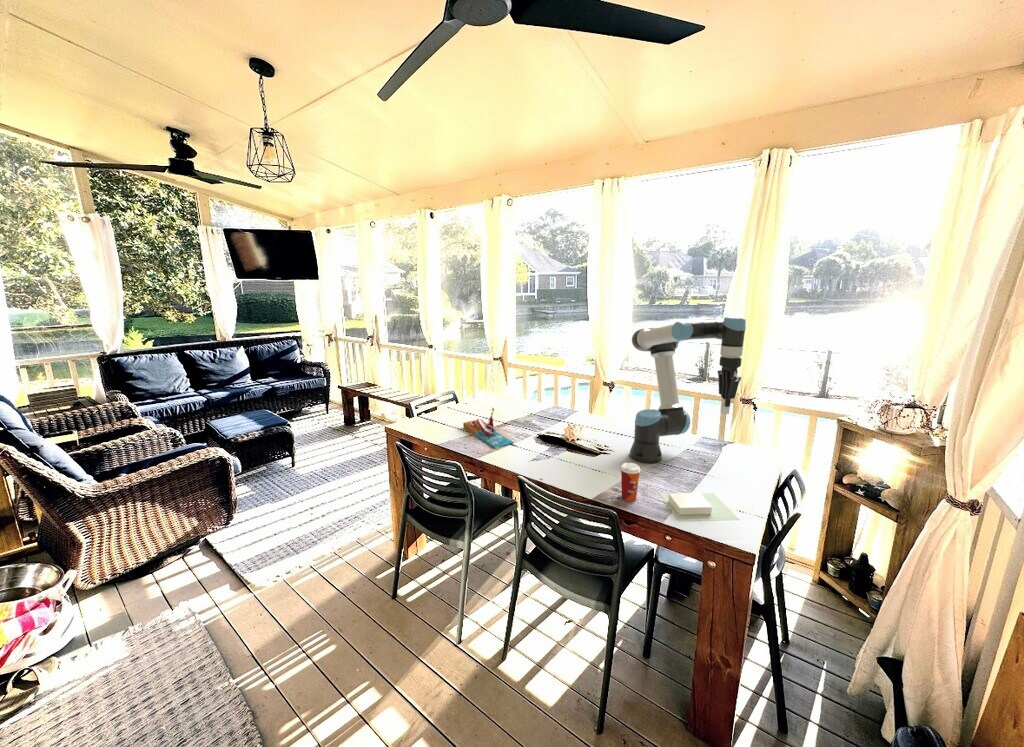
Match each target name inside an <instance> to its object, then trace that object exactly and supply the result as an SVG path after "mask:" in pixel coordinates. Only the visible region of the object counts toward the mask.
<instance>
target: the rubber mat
mask: <svg viewBox="0 0 1024 747" xmlns="http://www.w3.org/2000/svg"><path fill="white" fill-rule="evenodd" d="M699 493H700V494H701V496H702V497H703V498H704V499H705V500H706V501H707V502H708V503H709V504H710V505H711V506H712V512H711V514H700V515H679V514H678V513H677V512H676V510H675V509H674V508H673V506H672V505H671V504H670V502H669V501H668V497H669V494H670V493H659V496H660V497H661V498H662V500H664V502H665V504H666V505H667V506H668V508H669V509H670V511H671V512H672V513H673V515H674V516H675V517H676V518H677V520H678V522H707V521H711V522H712V521H740V518H739V517H738V516H737V515H736V514H735V513H734V512H733V511H732V510H730V508H729V507H728V506H727V505H726V504H725V503H724V502H723V501H722V500H721V498H719V497H718V496H717V495H716V494H715V493H714V492H699Z"/></svg>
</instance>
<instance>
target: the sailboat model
mask: <svg viewBox="0 0 1024 747" xmlns="http://www.w3.org/2000/svg"><path fill="white" fill-rule="evenodd" d="M491 410H492V412H491V413H490V417H489V419H488V421H487V422H486V421H484V420H483V419H481V418H477V419H475V420H470V421H466V422H465V421H464V422H463V423H462V424H463V425H462V426H463V430H465V431H466V430H467V431H466V432H468V433H470V434H471V433H472V434H471V435H473V436H474V437H476V438H477V437H478V439H479V440H480V439H481V440H480V441H482V442H483V441H484V443H485V444H486V443H487V445H488V446H489V445H490V446H489V447H491V448H493V449H494V450H496V449H500V448H504V447H508V446H511V444H512V445H514V441H513V440H511V439H509V438H507V437H505V435H502V434H500V433H499V432H498V431H497V430H496V429H495V428H494V421H493V420H494V419H493V415H494V412H495V408H494V407H491Z"/></svg>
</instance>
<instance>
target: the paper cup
mask: <svg viewBox="0 0 1024 747" xmlns="http://www.w3.org/2000/svg"><path fill="white" fill-rule="evenodd" d="M620 470H621V471H620V472H621V474H620V477H621V478H620V479H621V480H620V481H621V485H620V489H621V499H622V500H623V501H625V502H629V503H630V502H632V503H634V502H636V500H637V496H638V495H637V494H638V488H639V481H640V480H639V478H640V472H641V470H642V469H641V467H640V466H639V465H638V464H637V463H634V462H624V463H621V466H620Z"/></svg>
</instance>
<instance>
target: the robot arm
mask: <svg viewBox="0 0 1024 747" xmlns="http://www.w3.org/2000/svg"><path fill="white" fill-rule="evenodd" d="M746 322H747V320H746V318H745V317H744V316H732V315H731V316H725V317H724V319H723V320H719V319H715V318H711V319H710V318H709V319H707V318H706V319H704V320H679V321H677V322H675V323H673V324H668V325H665V326H664V325H663V326H660V327H652V328H651V327H649V328H648V327H647V328H646V327H645V328H640V329H638V330H636V331H635V332H634V333H633V334H632V335H631V336H632V337H631V343H632V346H633V347H634V348H635V349H636V350H637V351H641V352H650V356H651V357H652V358H653V359H654V365H655V372H656V373H655V374H656V379H657V380H656V381H657V386H658V393H659V394H658V395H659V402H660V406H659V407H658V408H657V409H652V408H651V409H650V408H649V409H648V408H647V409H642V410H639V411H638V412H637V413H636V415H635V420H634V438H633V439H634V440H633V442H632V444H631V448H630V450H629V457H630V458H631V459H632V460H634V461H635V462H640V463H644V464H654V463H659V462H661V461H662V460H663V459H662V458H663V454H662V451H661V446H660V437H668V436H678V435H682V434H685V433H686V432H688V430H689V429H690V426H691V417H690V414H689V412H688V411H686V410H685V409H684V406H683V405H681V404H680V399H679V393H678V386H677V378H676V372H675V364H674V358H673V357H674V355H675V353H676V349H677V348H678V346H679V343H680V342H681V341H689V340H706V339H717V340H721V346H720V357H719V365H720V367H721V370H720V369H719V370H717V376H718V378H717V379H718V395H720V396H721V405H720V414H721V415H729V414H730V408H731V400H733V399H735V398H736V394H737V391H738V388H739V385H740V384H739V383H740V381H741V380H742V377H741V376H739V375H738V373H739V372H738V368H740V367H741V366H742V356H743V350H744V348H743V347H744V340H745V334H746V328H747V326H746Z"/></svg>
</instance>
